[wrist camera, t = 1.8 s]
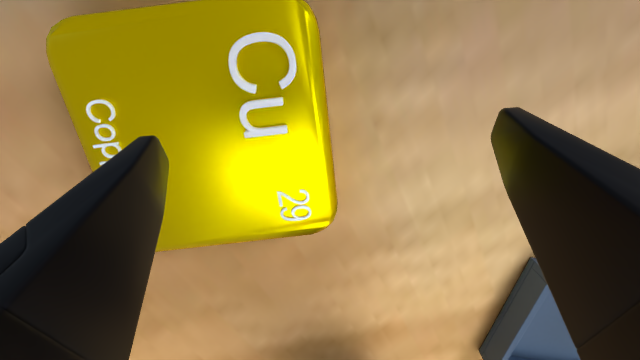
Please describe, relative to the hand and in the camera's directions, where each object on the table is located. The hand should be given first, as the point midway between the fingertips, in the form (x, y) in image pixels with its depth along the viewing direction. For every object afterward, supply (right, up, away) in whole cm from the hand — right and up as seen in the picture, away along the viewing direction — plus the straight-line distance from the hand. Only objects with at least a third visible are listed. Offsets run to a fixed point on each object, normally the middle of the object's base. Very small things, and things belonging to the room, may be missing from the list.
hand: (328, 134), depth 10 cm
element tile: (-7, +3, +16) cm, 18 cm away
